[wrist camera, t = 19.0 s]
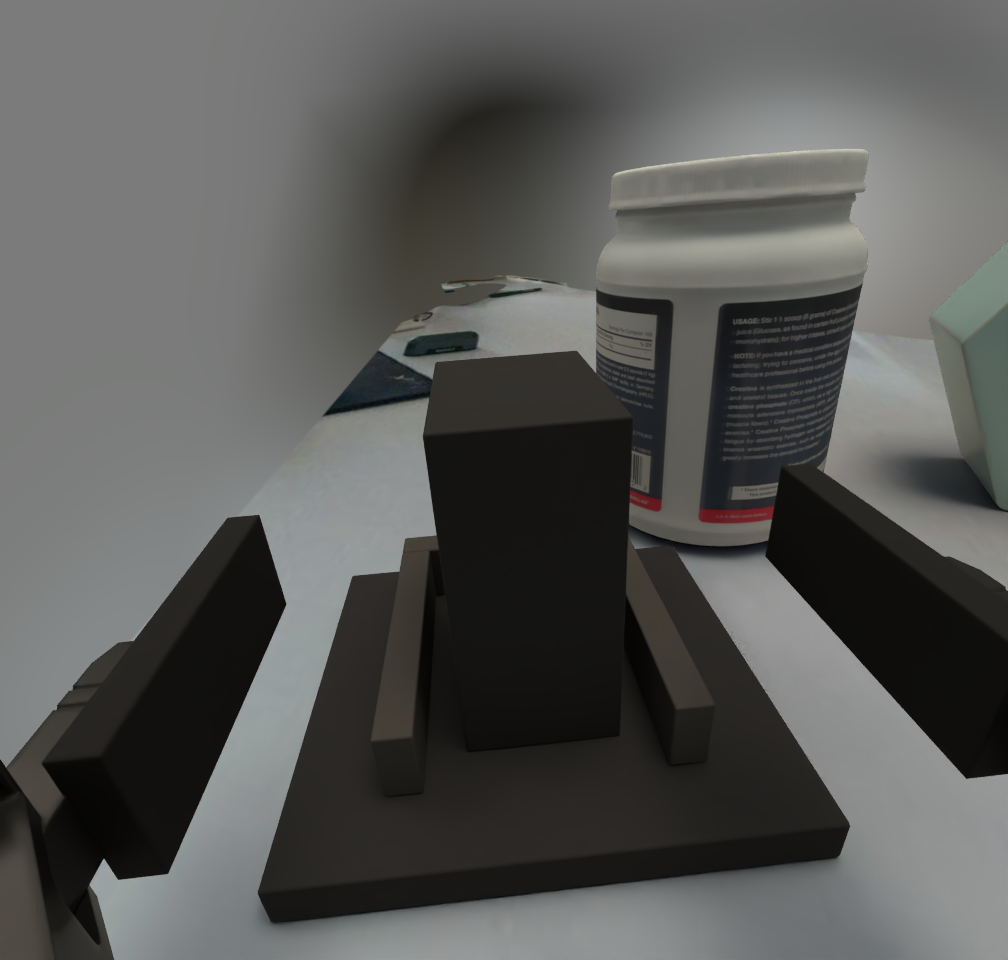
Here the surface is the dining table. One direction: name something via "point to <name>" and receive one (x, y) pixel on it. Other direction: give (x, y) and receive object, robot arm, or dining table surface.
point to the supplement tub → (728, 330)
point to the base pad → (534, 763)
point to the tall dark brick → (532, 544)
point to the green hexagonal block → (978, 370)
